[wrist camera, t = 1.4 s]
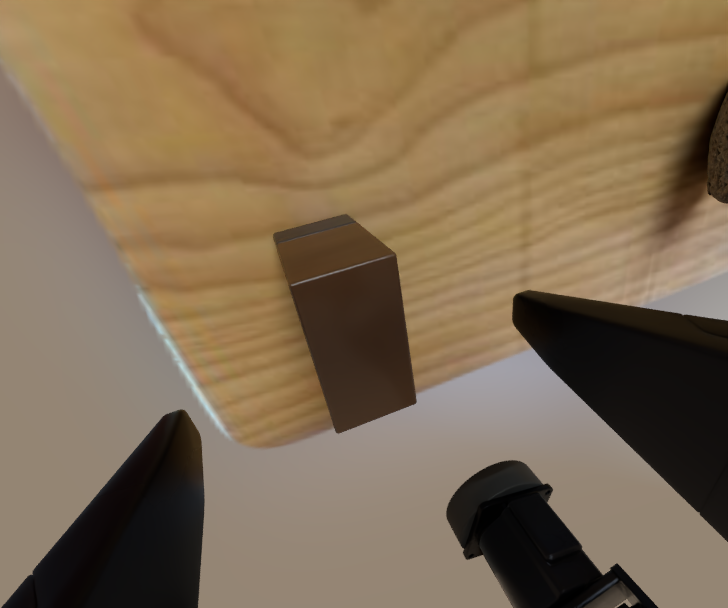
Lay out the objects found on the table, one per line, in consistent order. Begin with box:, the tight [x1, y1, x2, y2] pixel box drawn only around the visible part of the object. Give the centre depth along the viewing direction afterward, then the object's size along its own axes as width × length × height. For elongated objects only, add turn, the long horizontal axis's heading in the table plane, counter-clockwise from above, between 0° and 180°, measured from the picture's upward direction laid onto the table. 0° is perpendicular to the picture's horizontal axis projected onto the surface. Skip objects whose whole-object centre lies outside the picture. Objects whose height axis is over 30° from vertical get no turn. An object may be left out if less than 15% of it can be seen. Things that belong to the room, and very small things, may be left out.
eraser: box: [273, 214, 416, 433], centre depth 11 cm, size 5×3×4 cm, turn 10°
